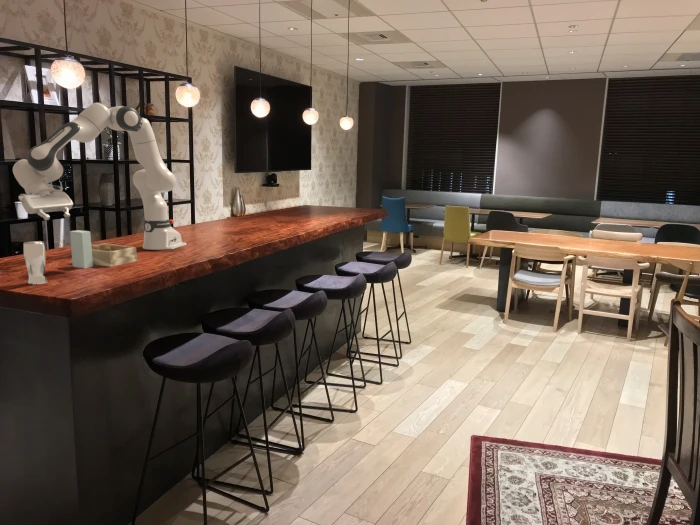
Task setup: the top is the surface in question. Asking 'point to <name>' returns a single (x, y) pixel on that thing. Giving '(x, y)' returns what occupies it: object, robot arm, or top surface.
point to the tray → (114, 256)
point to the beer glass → (35, 261)
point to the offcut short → (101, 247)
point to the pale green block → (81, 249)
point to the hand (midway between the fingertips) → (58, 217)
